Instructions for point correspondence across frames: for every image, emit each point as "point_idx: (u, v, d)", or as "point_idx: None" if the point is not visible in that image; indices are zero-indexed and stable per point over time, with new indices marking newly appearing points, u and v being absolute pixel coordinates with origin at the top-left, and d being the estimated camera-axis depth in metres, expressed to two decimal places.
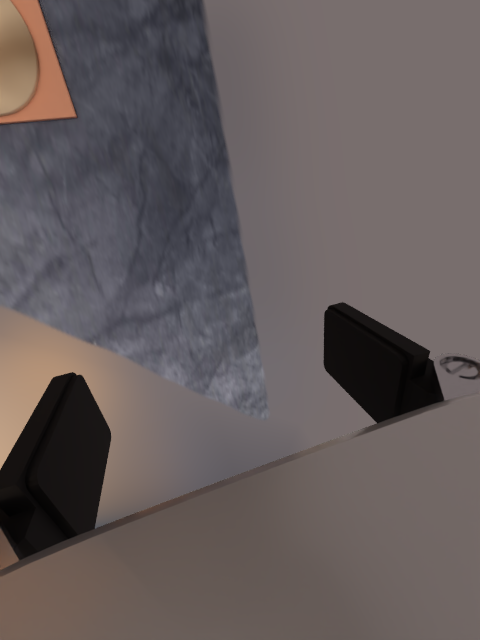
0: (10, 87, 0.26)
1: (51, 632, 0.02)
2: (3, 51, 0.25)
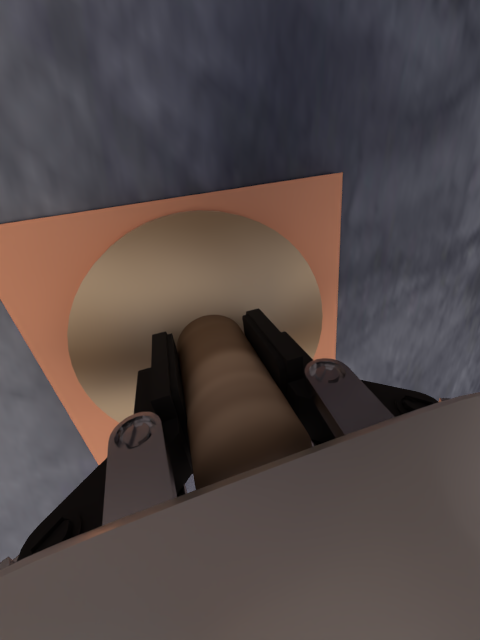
0: None
1: (51, 632, 0.02)
2: None
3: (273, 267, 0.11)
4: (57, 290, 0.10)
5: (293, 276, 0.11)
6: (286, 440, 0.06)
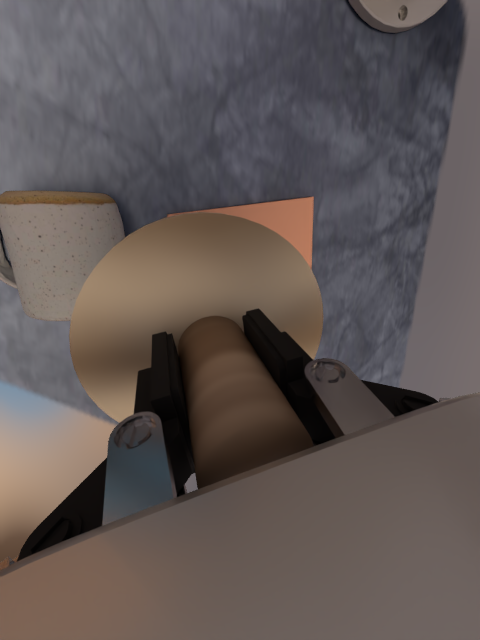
0: None
1: (51, 632, 0.02)
2: None
3: (274, 269, 0.11)
4: None
5: (294, 277, 0.11)
6: (287, 441, 0.06)
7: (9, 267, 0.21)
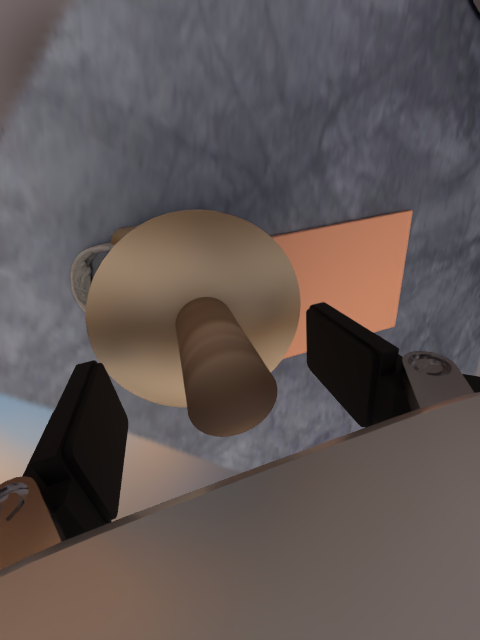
0: None
1: (51, 632, 0.02)
2: (257, 329, 0.15)
3: (259, 260, 0.13)
4: None
5: (276, 269, 0.14)
6: (257, 382, 0.08)
7: None
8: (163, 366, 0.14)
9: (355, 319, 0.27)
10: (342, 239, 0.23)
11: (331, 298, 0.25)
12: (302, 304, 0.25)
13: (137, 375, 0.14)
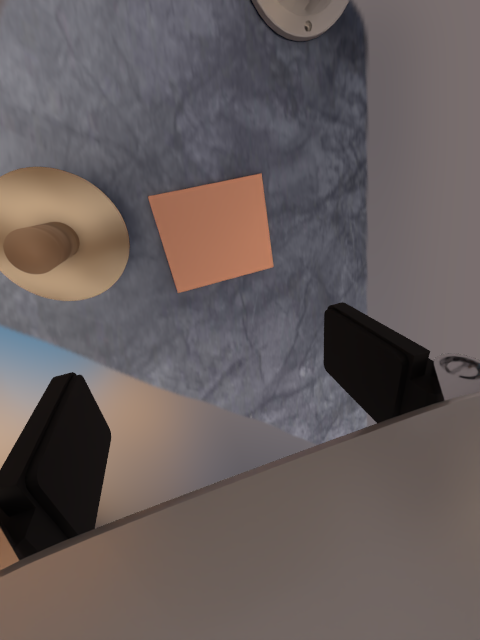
0: (100, 275, 0.25)
1: (51, 632, 0.02)
2: (98, 246, 0.24)
3: (87, 199, 0.22)
4: (170, 216, 0.32)
5: (100, 205, 0.23)
6: (41, 241, 0.17)
7: None
8: None
9: (236, 260, 0.36)
10: (208, 196, 0.32)
11: (211, 243, 0.34)
12: (187, 247, 0.34)
13: (20, 273, 0.23)
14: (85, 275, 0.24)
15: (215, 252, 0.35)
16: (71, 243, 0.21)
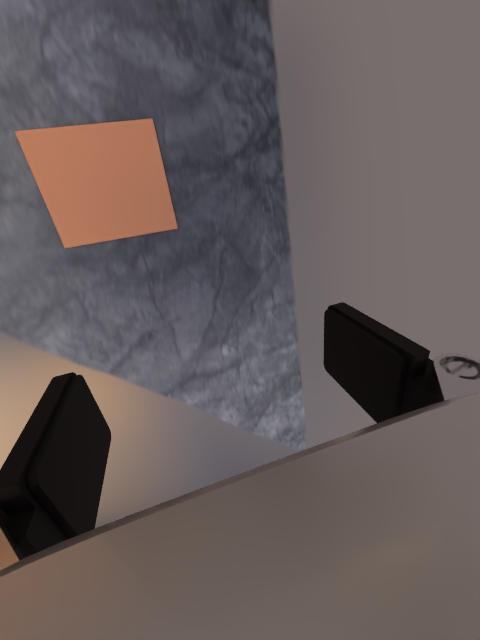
0: None
1: (51, 632, 0.02)
2: None
3: None
4: (45, 157, 0.29)
5: None
6: None
7: None
8: None
9: (132, 217, 0.33)
10: (89, 138, 0.29)
11: (99, 193, 0.31)
12: (71, 196, 0.31)
13: None
14: None
15: (105, 205, 0.32)
16: None
